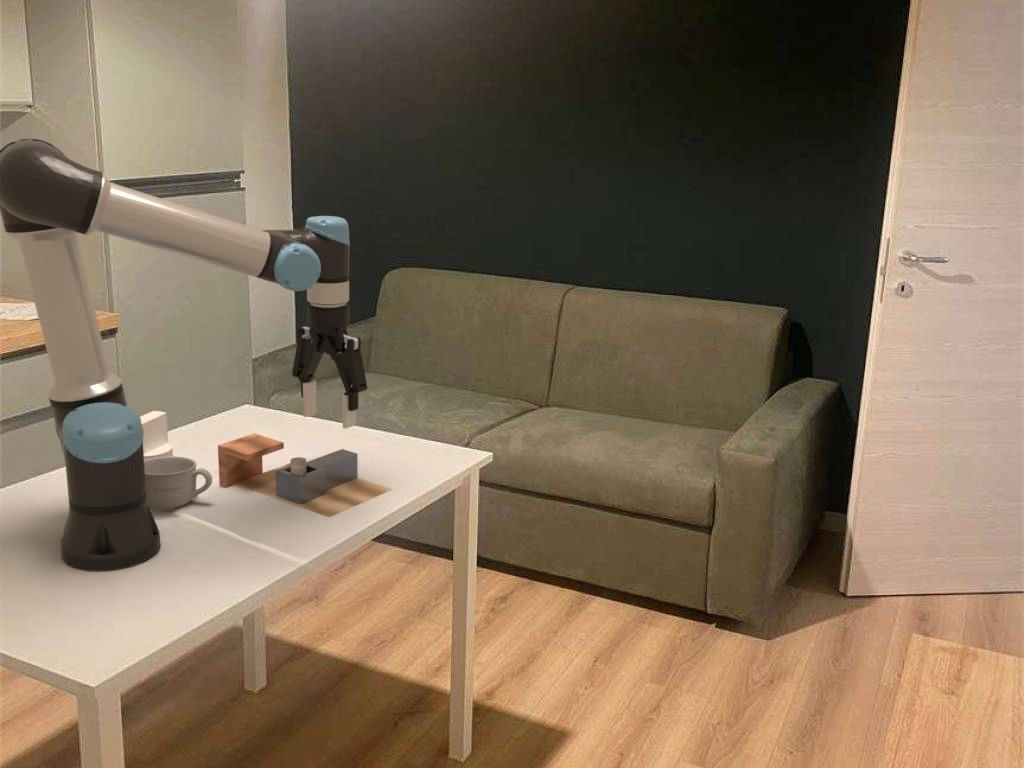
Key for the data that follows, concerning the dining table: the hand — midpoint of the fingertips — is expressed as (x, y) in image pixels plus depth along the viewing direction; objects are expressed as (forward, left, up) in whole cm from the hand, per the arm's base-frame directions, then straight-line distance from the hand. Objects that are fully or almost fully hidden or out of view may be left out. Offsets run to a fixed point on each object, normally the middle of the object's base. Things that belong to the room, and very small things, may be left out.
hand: (329, 420), depth 197 cm
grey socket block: (-3, 0, -13) cm, 13 cm away
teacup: (-24, +15, -14) cm, 32 cm away
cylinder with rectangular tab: (-18, +30, -14) cm, 38 cm away
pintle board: (-4, +3, -14) cm, 14 cm away
